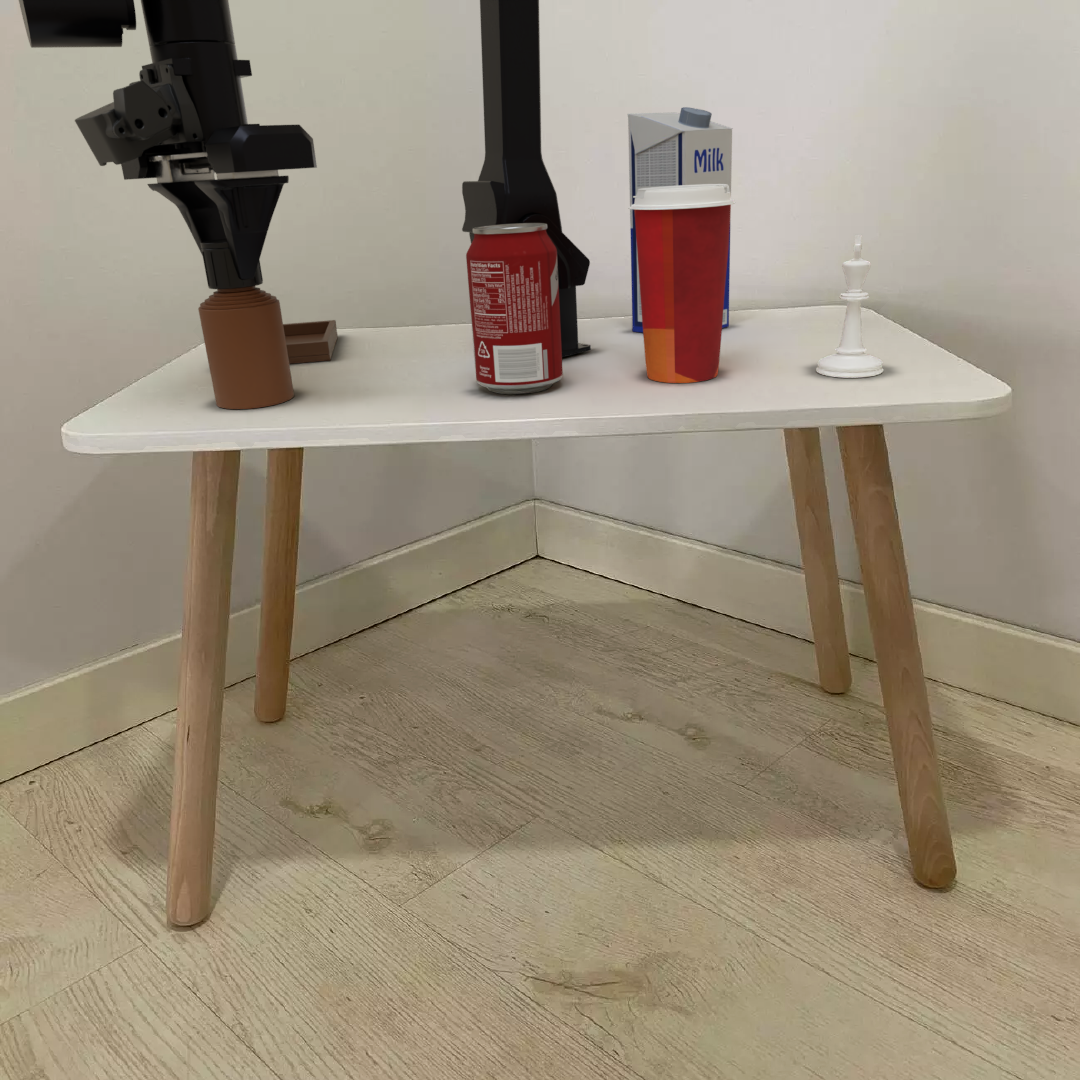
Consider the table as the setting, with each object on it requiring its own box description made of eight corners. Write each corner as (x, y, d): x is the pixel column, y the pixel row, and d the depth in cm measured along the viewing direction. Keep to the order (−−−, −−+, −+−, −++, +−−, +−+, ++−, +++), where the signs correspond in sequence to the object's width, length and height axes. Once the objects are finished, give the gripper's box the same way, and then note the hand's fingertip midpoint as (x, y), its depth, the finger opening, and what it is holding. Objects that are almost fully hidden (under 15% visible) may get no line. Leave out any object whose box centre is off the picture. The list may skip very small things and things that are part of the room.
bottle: (308, 397, 75) (285, 246, 71) (238, 413, 71) (209, 254, 67) (271, 387, 79) (247, 244, 75) (203, 402, 76) (174, 252, 71)
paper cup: (738, 365, 77) (742, 181, 72) (723, 387, 70) (726, 186, 65) (644, 364, 80) (641, 186, 74) (621, 385, 73) (616, 191, 68)
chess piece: (812, 377, 72) (819, 239, 68) (819, 363, 76) (827, 232, 72) (881, 378, 70) (892, 237, 66) (885, 364, 74) (896, 231, 70)
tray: (330, 360, 89) (327, 341, 88) (218, 369, 88) (215, 350, 87) (337, 336, 101) (335, 319, 100) (239, 344, 100) (236, 327, 99)
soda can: (554, 397, 70) (545, 227, 66) (466, 397, 72) (452, 231, 67) (569, 376, 77) (563, 220, 72) (489, 377, 78) (477, 224, 74)
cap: (207, 285, 73) (199, 241, 72) (261, 280, 74) (253, 236, 73) (209, 291, 70) (200, 244, 68) (264, 285, 71) (257, 239, 70)
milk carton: (677, 320, 98) (676, 109, 91) (730, 326, 94) (734, 104, 86) (630, 331, 94) (626, 111, 86) (683, 338, 89) (683, 105, 82)
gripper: (25, 59, 67) (78, 285, 73) (134, 23, 54) (187, 300, 60) (175, 62, 74) (213, 268, 80) (303, 31, 62) (336, 278, 67)
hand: (233, 277), depth 72 cm, fingers closed on cap, 4 cm apart
